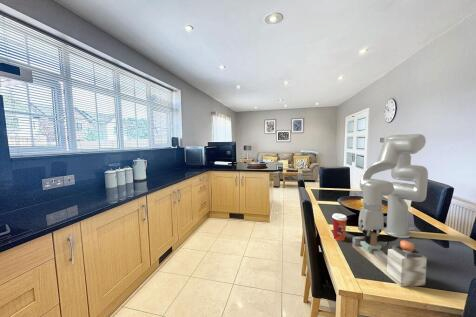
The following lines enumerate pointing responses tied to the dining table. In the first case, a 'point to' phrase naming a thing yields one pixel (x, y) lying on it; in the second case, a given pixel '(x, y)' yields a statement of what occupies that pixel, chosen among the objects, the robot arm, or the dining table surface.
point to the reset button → (407, 245)
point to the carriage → (371, 243)
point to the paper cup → (339, 226)
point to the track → (397, 263)
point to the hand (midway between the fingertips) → (370, 241)
